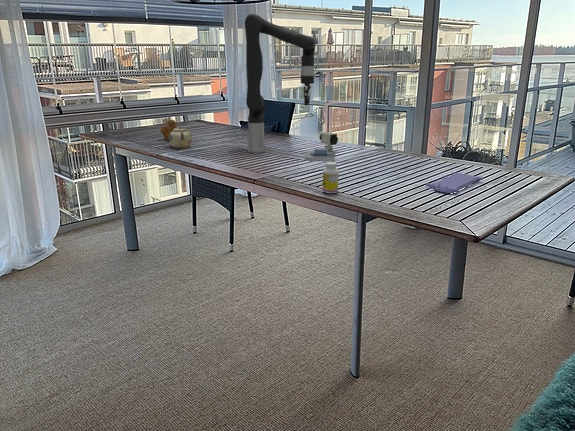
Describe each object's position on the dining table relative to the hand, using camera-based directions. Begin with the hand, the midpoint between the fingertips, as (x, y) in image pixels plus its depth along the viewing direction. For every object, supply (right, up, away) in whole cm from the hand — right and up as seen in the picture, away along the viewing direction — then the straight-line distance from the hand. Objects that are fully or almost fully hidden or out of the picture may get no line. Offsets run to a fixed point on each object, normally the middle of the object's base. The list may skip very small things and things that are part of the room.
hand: (307, 104), depth 263 cm
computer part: (+64, -50, -54) cm, 97 cm away
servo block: (+8, -30, -1) cm, 31 cm away
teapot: (-76, -21, +25) cm, 83 cm away
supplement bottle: (+7, -53, -64) cm, 84 cm away
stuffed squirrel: (-89, -12, +49) cm, 102 cm away
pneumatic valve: (+14, -25, +15) cm, 32 cm away
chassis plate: (+8, -30, -1) cm, 31 cm away
